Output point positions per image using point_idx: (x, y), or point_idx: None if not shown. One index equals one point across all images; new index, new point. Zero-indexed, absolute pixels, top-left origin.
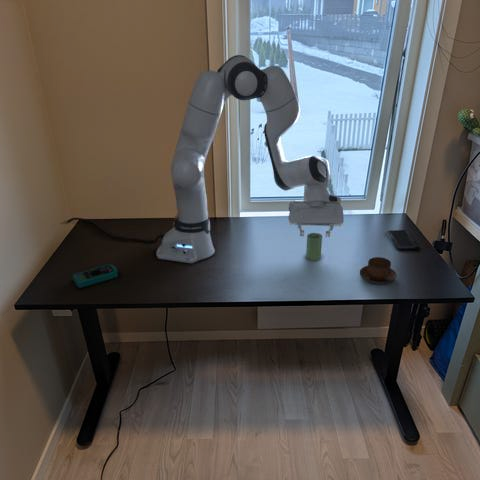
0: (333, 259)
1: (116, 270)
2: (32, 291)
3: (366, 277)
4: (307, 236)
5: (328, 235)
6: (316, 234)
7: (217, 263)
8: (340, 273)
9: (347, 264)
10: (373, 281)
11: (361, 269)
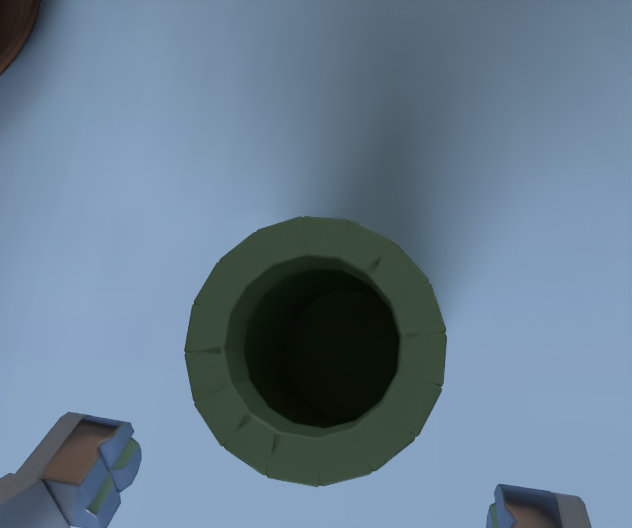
0: (175, 296)
1: None
2: None
3: (17, 7)
4: (442, 324)
5: (88, 417)
6: (270, 425)
7: None
8: (170, 71)
9: (87, 209)
10: None
11: (8, 48)
